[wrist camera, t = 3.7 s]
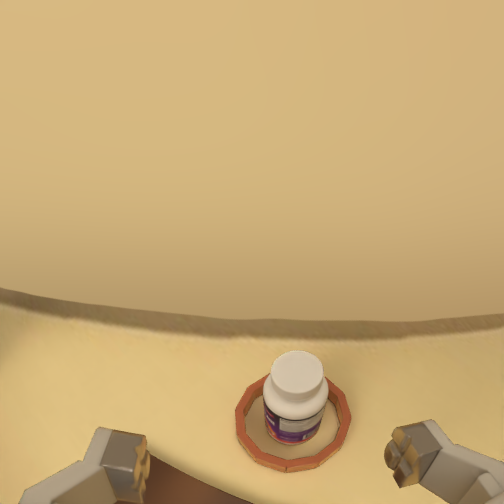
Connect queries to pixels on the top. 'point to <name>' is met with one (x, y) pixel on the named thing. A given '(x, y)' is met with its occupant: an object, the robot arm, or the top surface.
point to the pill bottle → (295, 397)
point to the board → (180, 488)
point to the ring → (294, 464)
